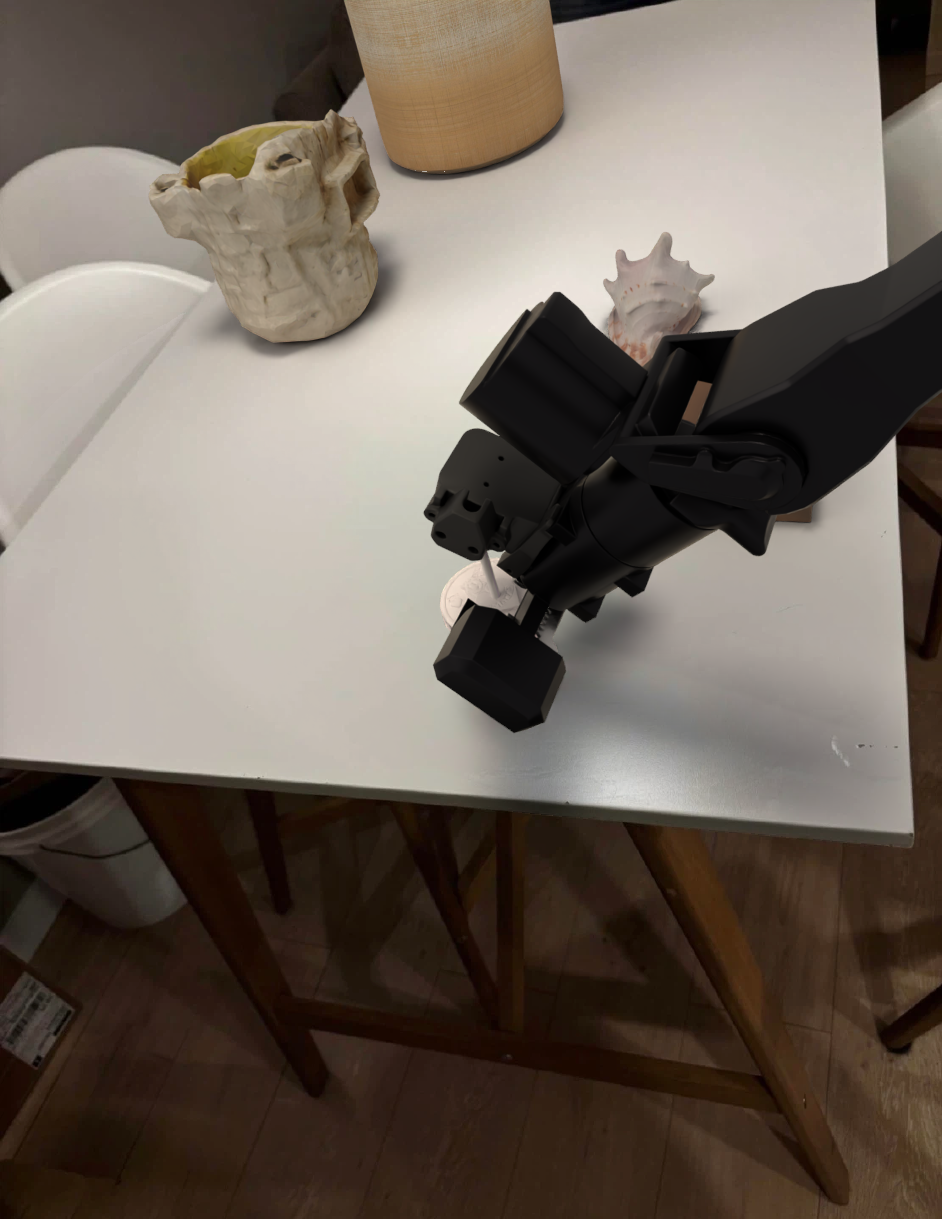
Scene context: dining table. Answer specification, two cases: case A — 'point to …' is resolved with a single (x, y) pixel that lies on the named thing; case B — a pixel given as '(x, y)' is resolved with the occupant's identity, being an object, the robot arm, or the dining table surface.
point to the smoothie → (480, 590)
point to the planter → (458, 78)
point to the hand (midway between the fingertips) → (477, 616)
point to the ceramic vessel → (281, 223)
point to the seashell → (653, 299)
